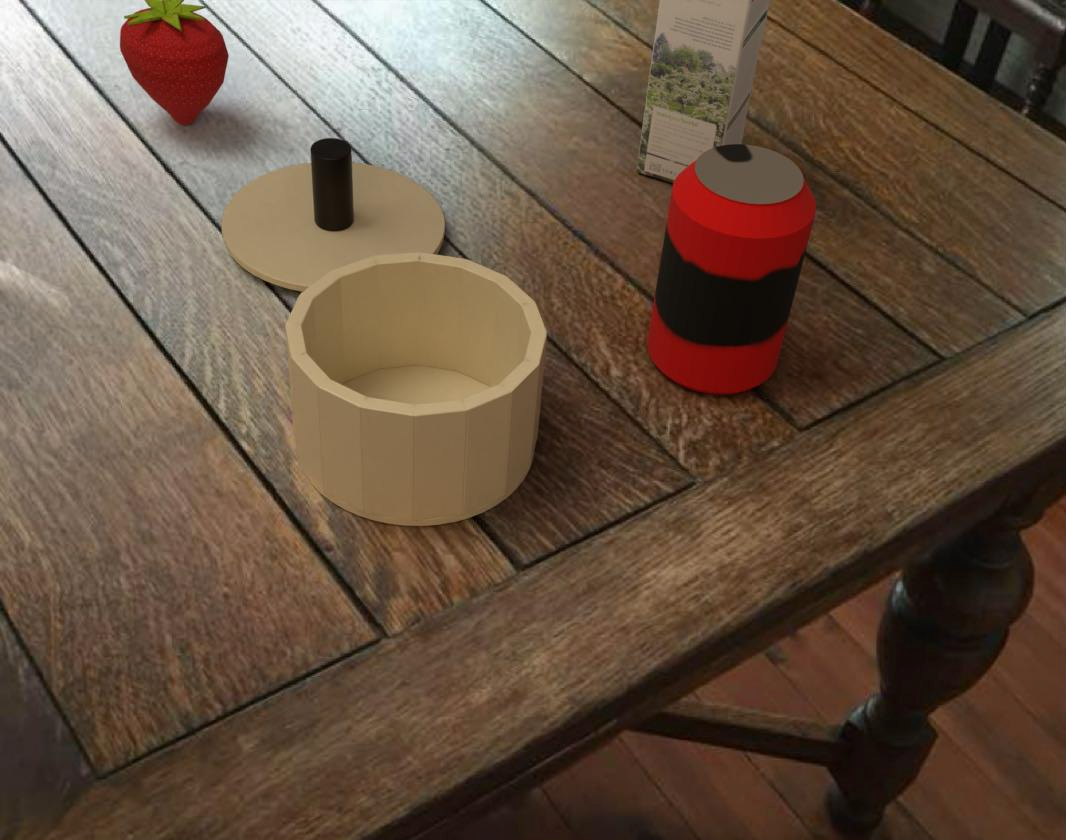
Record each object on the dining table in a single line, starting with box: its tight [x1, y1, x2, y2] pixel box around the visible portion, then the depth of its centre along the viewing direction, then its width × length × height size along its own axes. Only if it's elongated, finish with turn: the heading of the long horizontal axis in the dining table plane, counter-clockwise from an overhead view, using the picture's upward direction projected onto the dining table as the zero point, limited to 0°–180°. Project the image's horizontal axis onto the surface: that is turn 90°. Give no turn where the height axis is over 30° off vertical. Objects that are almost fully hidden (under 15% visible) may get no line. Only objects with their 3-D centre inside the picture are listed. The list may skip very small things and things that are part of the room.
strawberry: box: [119, 0, 229, 126], centre depth 88 cm, size 6×8×10 cm
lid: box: [220, 137, 446, 293], centre depth 82 cm, size 14×14×6 cm
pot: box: [284, 252, 548, 527], centre depth 69 cm, size 13×13×8 cm
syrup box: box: [636, 0, 771, 184], centre depth 87 cm, size 6×6×14 cm
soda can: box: [646, 143, 817, 396], centre depth 74 cm, size 8×8×12 cm
